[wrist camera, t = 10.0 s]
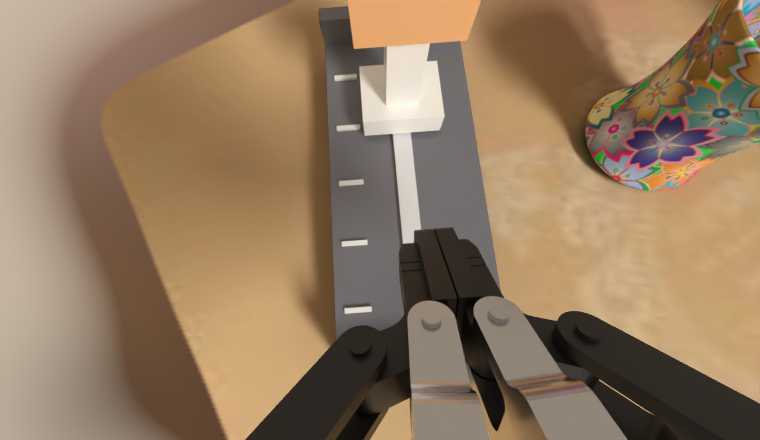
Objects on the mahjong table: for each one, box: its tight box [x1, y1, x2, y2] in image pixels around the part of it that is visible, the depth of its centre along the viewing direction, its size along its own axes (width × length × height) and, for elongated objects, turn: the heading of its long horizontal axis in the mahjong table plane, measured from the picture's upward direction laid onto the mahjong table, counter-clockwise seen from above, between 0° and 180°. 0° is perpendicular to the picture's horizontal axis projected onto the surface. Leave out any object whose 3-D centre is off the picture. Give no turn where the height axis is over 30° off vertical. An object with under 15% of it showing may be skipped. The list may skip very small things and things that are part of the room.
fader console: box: [319, 7, 500, 358], centre depth 19 cm, size 24×10×5 cm, turn 4°
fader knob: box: [348, 0, 481, 136], centre depth 14 cm, size 4×5×10 cm
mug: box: [585, 0, 760, 191], centre depth 17 cm, size 12×9×11 cm
